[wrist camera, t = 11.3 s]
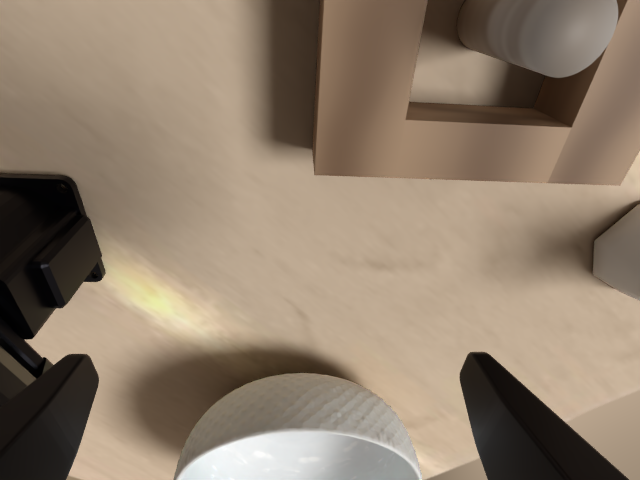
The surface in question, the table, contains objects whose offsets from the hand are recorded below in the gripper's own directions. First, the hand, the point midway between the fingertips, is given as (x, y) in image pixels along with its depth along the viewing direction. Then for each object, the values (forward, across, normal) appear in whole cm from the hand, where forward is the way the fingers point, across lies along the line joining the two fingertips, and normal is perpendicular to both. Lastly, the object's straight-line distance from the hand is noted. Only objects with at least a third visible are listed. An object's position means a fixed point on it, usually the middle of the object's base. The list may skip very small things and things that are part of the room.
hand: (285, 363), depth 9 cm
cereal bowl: (+12, -1, +21) cm, 24 cm away
